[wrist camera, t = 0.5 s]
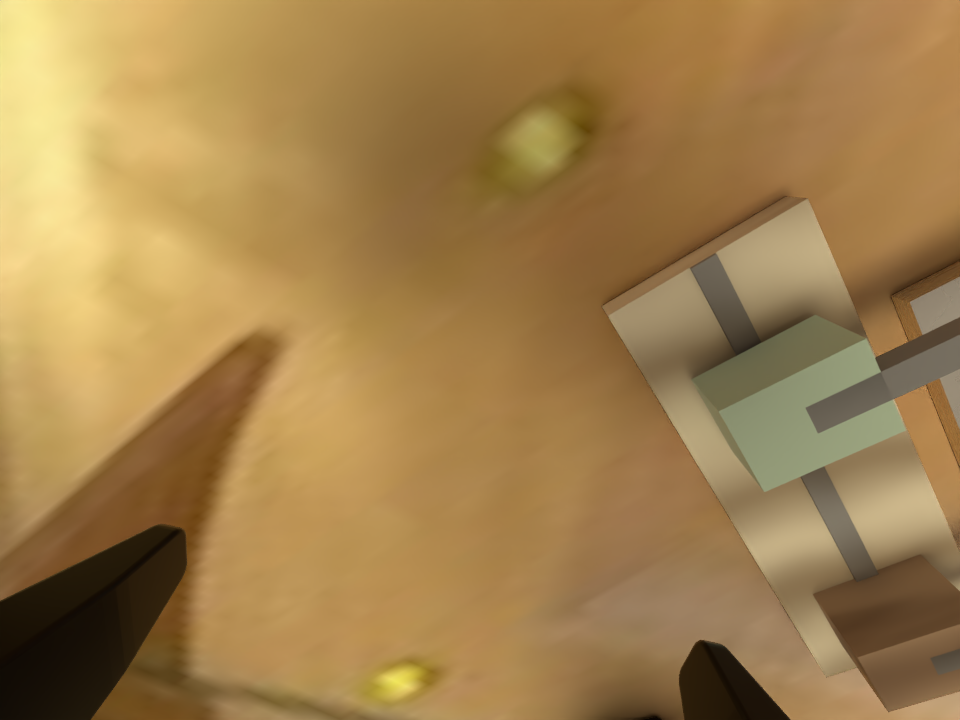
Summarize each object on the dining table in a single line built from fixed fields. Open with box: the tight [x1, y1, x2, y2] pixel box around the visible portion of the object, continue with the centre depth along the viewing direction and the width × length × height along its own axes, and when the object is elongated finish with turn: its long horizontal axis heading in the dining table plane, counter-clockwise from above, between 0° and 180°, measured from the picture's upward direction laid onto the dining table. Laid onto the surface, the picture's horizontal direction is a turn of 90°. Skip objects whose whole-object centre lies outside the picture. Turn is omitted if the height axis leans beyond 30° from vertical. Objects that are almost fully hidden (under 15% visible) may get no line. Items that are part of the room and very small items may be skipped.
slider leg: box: [691, 315, 960, 492], centre depth 17 cm, size 4×12×3 cm, turn 124°
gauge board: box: [602, 197, 960, 712], centre depth 20 cm, size 24×14×5 cm, turn 34°
